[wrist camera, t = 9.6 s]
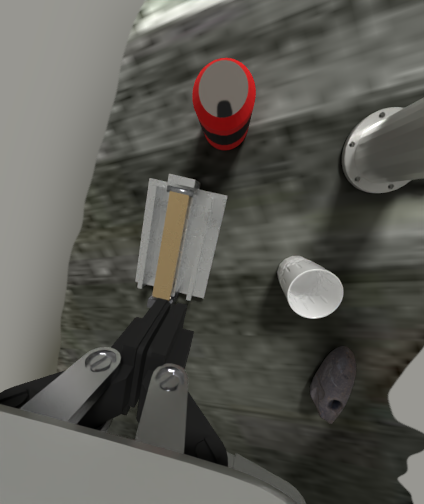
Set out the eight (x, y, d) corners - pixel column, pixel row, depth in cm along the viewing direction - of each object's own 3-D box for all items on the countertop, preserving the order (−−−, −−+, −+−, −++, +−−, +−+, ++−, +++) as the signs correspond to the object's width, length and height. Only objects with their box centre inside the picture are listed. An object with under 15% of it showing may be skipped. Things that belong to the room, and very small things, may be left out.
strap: (194, 191, 32) (193, 190, 31) (173, 298, 36) (171, 301, 35) (169, 185, 32) (167, 184, 31) (151, 293, 36) (149, 295, 35)
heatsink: (229, 190, 37) (228, 187, 30) (203, 298, 43) (197, 319, 35) (154, 172, 38) (134, 165, 30) (139, 282, 43) (119, 299, 36)
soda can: (206, 153, 36) (194, 131, 25) (201, 105, 35) (186, 56, 23) (249, 147, 35) (258, 121, 24) (246, 97, 34) (255, 43, 22)
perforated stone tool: (330, 335, 42) (349, 360, 36) (354, 343, 42) (378, 370, 36) (299, 389, 46) (311, 421, 40) (322, 397, 46) (337, 430, 40)
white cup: (265, 268, 40) (276, 290, 31) (300, 244, 39) (323, 258, 29) (289, 298, 41) (307, 328, 32) (324, 275, 40) (354, 299, 30)
